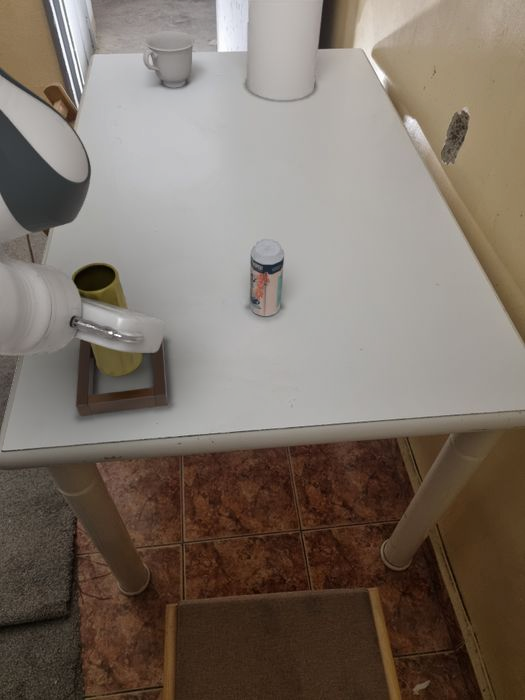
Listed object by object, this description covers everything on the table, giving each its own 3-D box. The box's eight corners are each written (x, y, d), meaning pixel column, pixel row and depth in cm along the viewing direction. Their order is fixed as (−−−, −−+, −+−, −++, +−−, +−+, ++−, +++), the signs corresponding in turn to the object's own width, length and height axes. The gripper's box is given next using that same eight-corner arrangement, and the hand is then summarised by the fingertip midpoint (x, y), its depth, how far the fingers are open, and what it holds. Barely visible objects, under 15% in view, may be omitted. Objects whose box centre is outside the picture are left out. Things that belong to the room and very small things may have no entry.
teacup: (132, 87, 130) (125, 44, 122) (173, 68, 137) (169, 26, 130) (167, 102, 125) (162, 58, 117) (207, 81, 133) (205, 39, 125)
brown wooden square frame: (80, 416, 68) (75, 406, 66) (84, 350, 75) (79, 339, 74) (168, 405, 70) (165, 394, 68) (163, 341, 77) (161, 330, 75)
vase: (86, 366, 68) (54, 284, 57) (115, 336, 71) (90, 253, 61) (124, 383, 66) (98, 302, 55) (152, 351, 70) (133, 269, 59)
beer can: (246, 299, 83) (246, 240, 74) (274, 294, 84) (278, 234, 75) (255, 321, 80) (256, 261, 71) (284, 314, 81) (289, 255, 72)
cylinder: (322, 97, 129) (338, -39, 108) (255, 102, 126) (257, -36, 105) (303, 68, 140) (314, -61, 118) (241, 72, 137) (240, -59, 115)
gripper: (134, 306, 47) (192, 312, 60) (-43, 251, 52) (47, 269, 65) (117, 372, 48) (178, 364, 61) (-56, 312, 53) (36, 317, 66)
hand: (109, 314), depth 63 cm, fingers closed on vase, 5 cm apart
